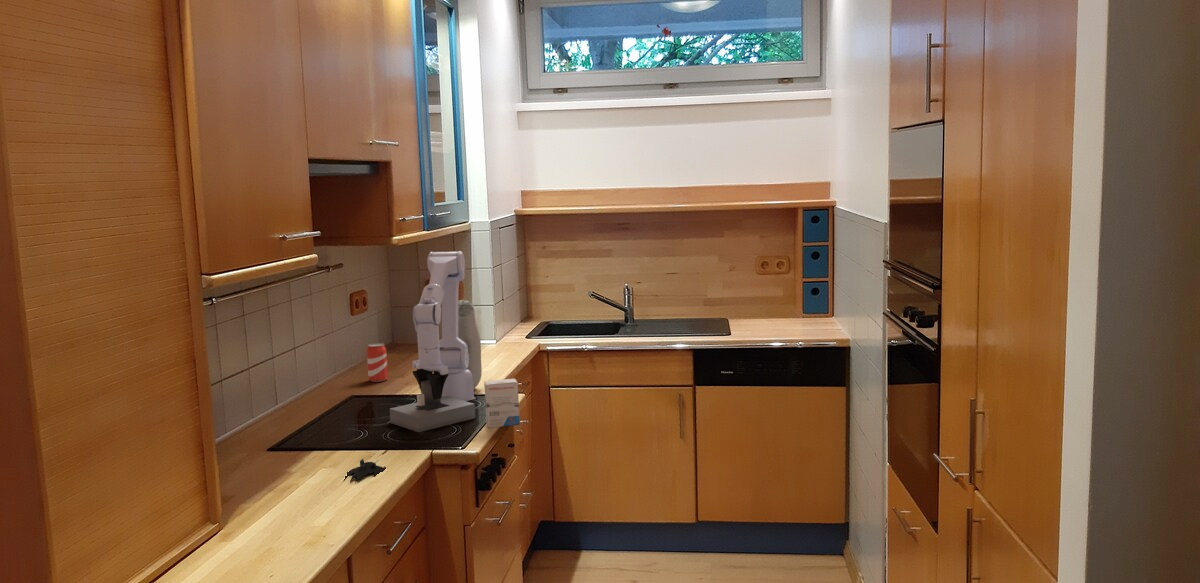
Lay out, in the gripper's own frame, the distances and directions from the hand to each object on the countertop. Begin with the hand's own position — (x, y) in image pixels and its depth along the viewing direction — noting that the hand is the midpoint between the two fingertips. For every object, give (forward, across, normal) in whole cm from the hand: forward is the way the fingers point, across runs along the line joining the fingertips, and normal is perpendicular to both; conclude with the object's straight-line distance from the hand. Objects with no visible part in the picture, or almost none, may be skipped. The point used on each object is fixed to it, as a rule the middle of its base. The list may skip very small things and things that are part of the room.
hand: (431, 397), depth 248 cm
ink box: (+7, +18, +10) cm, 22 cm away
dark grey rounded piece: (+2, 0, 0) cm, 2 cm away
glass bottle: (+7, -23, +27) cm, 36 cm away
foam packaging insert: (+6, 0, 0) cm, 6 cm away
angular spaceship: (+7, +28, -37) cm, 47 cm away
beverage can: (+7, -57, +16) cm, 60 cm away
